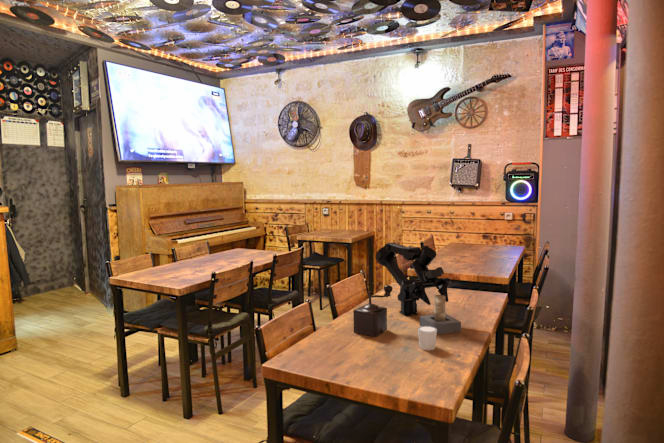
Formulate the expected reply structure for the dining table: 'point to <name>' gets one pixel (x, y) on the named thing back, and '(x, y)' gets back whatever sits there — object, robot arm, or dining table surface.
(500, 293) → the dining table surface
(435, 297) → the peg
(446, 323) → the socket
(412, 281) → the robot arm
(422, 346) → the shot glass
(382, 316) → the pepper mill
